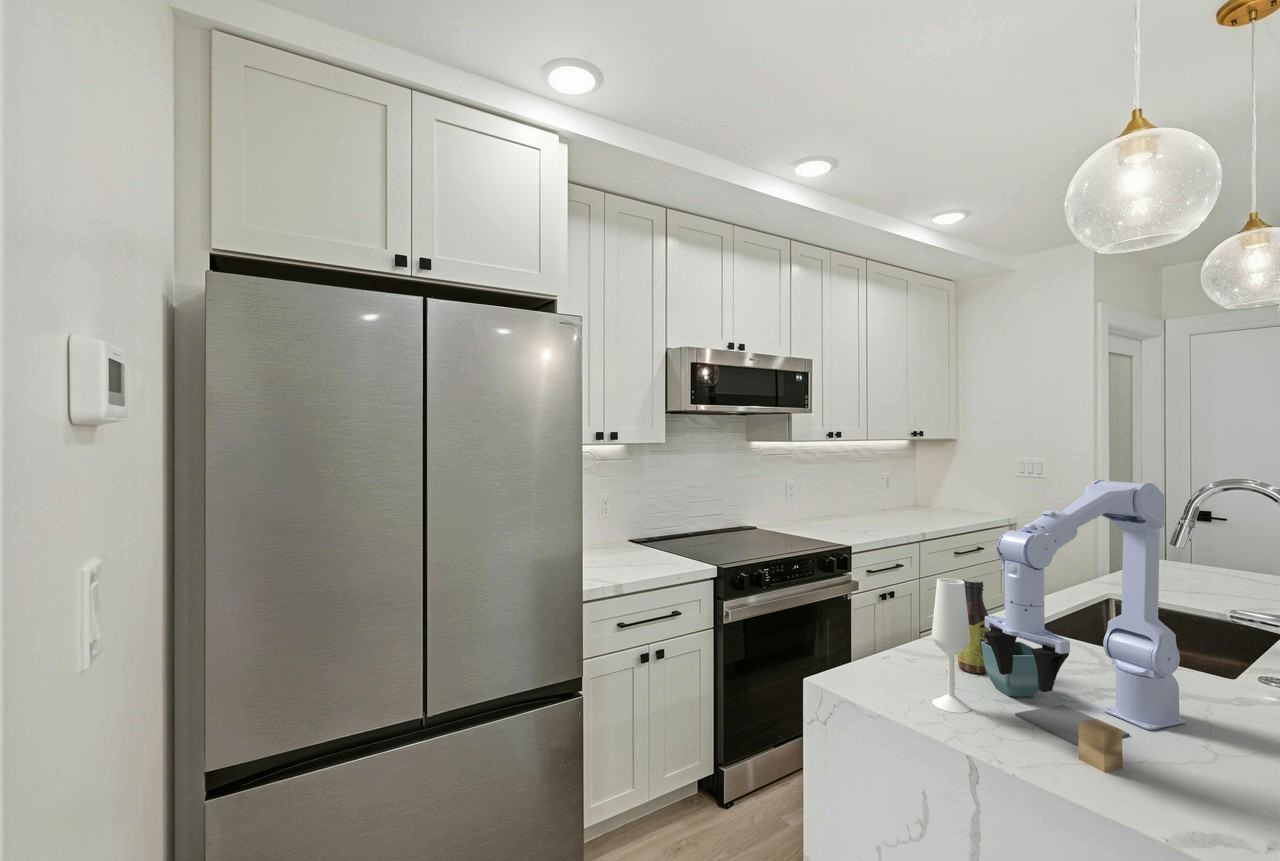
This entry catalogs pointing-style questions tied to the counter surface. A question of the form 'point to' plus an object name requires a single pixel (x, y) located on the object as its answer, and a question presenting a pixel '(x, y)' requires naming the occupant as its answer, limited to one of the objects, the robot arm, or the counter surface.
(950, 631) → the champagne flute
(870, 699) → the counter surface
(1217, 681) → the counter surface
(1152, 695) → the robot arm
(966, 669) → the sauce bottle
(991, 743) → the counter surface
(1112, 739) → the oak block
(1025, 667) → the flower pot
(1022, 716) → the mat
